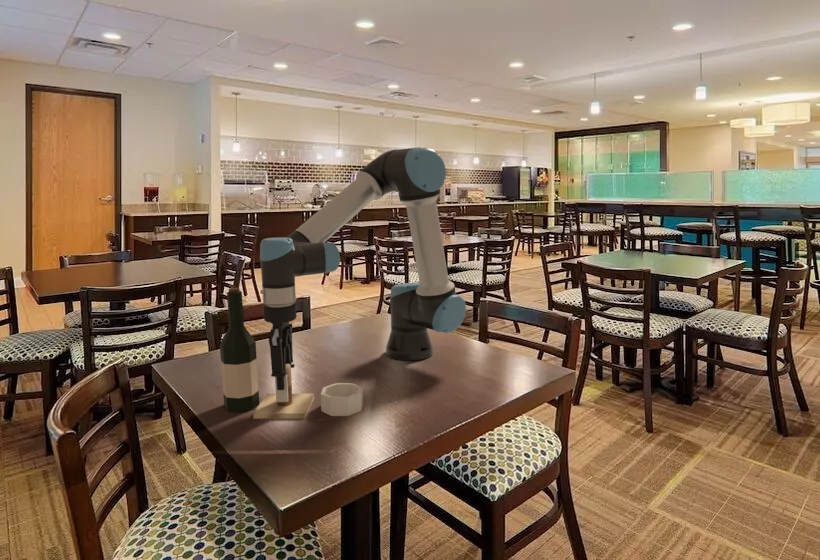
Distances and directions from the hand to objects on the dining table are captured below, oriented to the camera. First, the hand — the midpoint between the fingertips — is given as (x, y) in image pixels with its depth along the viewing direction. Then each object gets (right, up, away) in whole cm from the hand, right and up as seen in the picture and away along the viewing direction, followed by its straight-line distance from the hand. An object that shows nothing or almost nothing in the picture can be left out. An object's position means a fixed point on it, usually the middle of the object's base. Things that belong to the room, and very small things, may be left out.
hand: (284, 397), depth 130 cm
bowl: (+14, -3, 0) cm, 14 cm away
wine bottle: (-11, -3, +2) cm, 12 cm away
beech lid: (0, -3, 0) cm, 3 cm away
